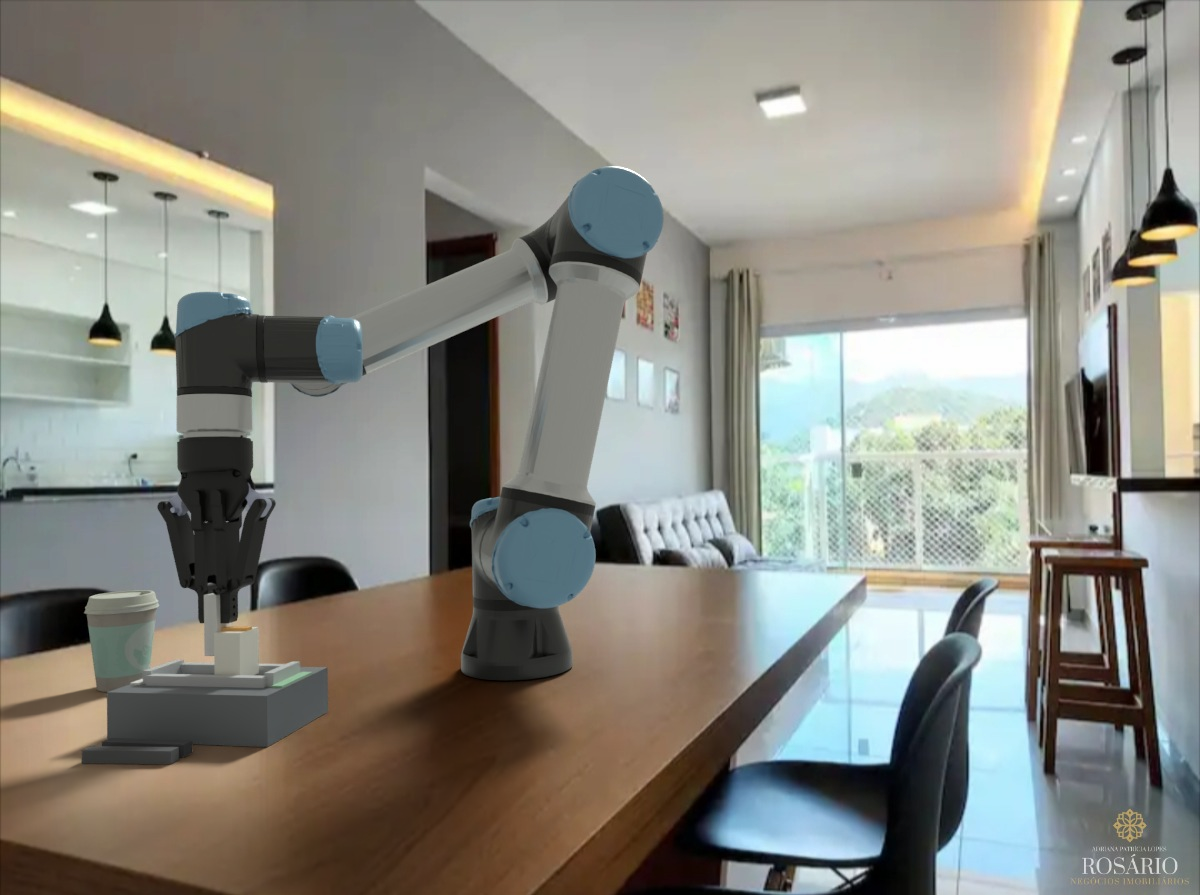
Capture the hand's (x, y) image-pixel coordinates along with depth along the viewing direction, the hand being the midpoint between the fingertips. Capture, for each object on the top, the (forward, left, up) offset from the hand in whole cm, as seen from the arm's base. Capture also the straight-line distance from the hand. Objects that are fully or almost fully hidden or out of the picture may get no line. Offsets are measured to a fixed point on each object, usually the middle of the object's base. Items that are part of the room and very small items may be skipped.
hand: (218, 653), depth 89 cm
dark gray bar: (+2, +11, -8) cm, 14 cm away
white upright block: (-2, 0, -3) cm, 3 cm away
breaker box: (0, 0, -8) cm, 8 cm away
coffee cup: (+24, -15, -8) cm, 29 cm away
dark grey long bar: (+2, +9, -8) cm, 12 cm away
